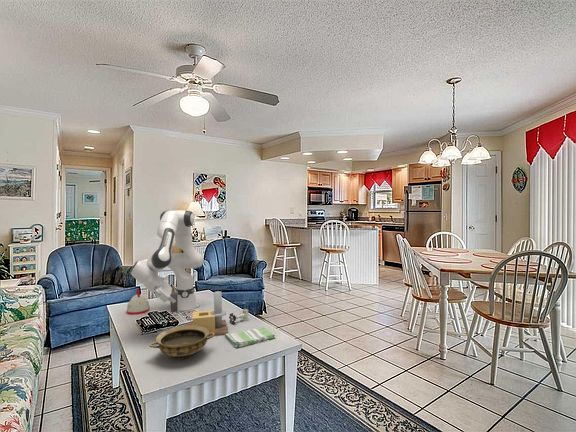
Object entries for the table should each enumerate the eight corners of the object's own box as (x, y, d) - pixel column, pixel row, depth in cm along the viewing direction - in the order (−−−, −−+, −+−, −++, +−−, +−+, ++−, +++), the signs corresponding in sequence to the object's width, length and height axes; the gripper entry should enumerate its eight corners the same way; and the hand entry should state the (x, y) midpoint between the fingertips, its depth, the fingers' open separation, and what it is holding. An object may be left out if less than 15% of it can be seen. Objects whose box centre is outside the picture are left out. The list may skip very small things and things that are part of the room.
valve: (245, 318, 200) (228, 322, 192) (245, 307, 199) (228, 312, 192) (251, 320, 195) (234, 325, 187) (251, 310, 194) (234, 314, 187)
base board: (186, 325, 186) (186, 323, 186) (225, 321, 193) (225, 319, 193) (185, 339, 167) (185, 336, 167) (228, 334, 174) (228, 331, 174)
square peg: (171, 310, 176) (170, 292, 176) (177, 309, 177) (177, 292, 177) (170, 312, 173) (170, 294, 172) (177, 311, 174) (177, 294, 173)
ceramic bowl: (211, 339, 167) (211, 321, 166) (219, 359, 145) (219, 338, 144) (150, 349, 155) (149, 330, 155) (148, 373, 133) (148, 350, 133)
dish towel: (224, 337, 170) (224, 331, 170) (262, 329, 182) (261, 323, 182) (235, 350, 156) (235, 343, 155) (275, 339, 167) (275, 333, 167)
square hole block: (193, 325, 184) (192, 291, 183) (225, 321, 189) (224, 289, 188) (192, 332, 172) (192, 297, 172) (226, 329, 177) (226, 294, 177)
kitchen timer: (129, 316, 204) (128, 293, 204) (124, 310, 215) (124, 289, 215) (151, 311, 213) (151, 290, 212) (146, 306, 224) (145, 286, 223)
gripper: (158, 284, 162) (178, 301, 165) (162, 276, 182) (180, 291, 185) (149, 294, 161) (169, 310, 164) (154, 284, 181) (172, 299, 184)
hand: (175, 300), depth 175 cm, fingers closed on square peg, 4 cm apart
